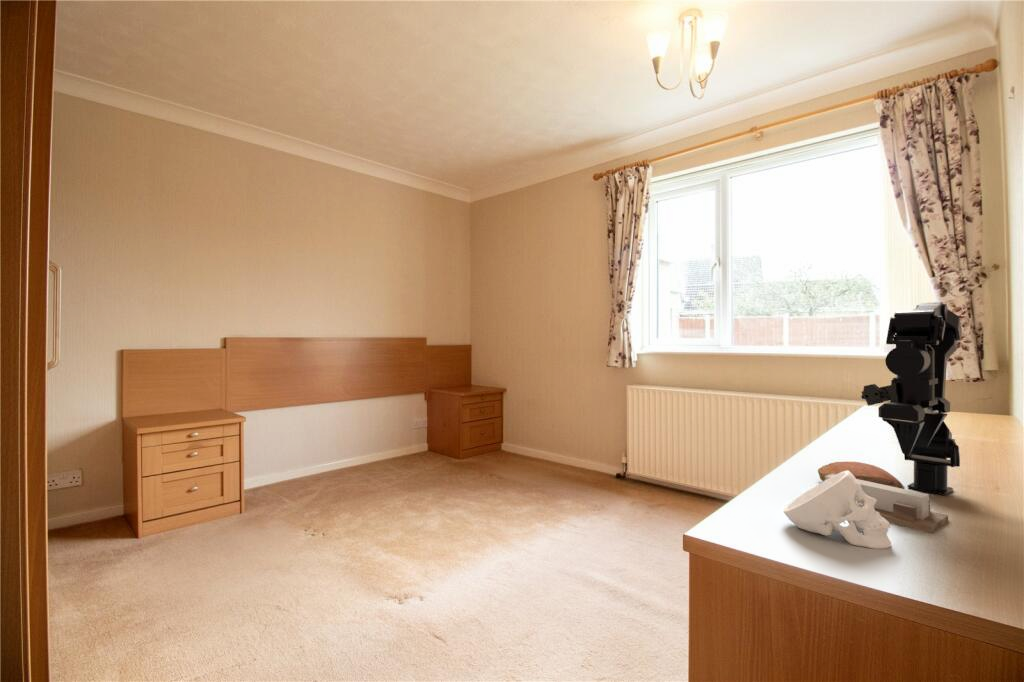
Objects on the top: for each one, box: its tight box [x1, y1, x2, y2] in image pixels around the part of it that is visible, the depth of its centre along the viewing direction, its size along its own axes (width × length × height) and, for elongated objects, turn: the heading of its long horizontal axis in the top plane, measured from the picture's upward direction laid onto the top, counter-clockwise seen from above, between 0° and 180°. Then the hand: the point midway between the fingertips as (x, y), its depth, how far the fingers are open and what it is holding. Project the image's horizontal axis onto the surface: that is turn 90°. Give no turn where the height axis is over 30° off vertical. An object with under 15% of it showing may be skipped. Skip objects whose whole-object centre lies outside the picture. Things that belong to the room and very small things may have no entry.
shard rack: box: [874, 498, 949, 534], centre depth 94 cm, size 10×20×4 cm, turn 34°
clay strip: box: [825, 474, 930, 520], centre depth 94 cm, size 4×16×4 cm, turn 34°
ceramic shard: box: [817, 461, 906, 489], centre depth 112 cm, size 15×6×15 cm
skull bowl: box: [783, 470, 892, 550], centre depth 82 cm, size 10×14×12 cm
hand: (915, 450), depth 95 cm, fingers open, 9 cm apart
